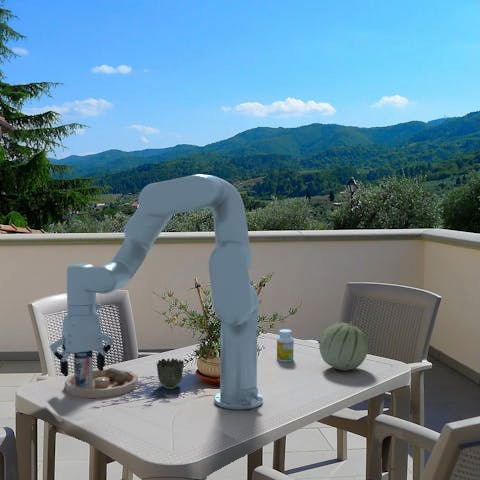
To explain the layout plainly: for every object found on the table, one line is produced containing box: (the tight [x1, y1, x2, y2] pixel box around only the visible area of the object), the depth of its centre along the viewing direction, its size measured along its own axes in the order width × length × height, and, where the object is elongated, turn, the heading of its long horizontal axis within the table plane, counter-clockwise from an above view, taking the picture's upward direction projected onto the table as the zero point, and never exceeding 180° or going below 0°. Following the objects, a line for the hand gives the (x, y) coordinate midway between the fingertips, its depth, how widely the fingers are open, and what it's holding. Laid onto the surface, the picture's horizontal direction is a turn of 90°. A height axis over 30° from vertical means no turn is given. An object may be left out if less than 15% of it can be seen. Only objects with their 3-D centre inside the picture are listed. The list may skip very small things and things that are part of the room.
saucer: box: [64, 368, 139, 399], centre depth 168 cm, size 19×19×3 cm
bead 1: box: [105, 367, 117, 381], centre depth 173 cm, size 4×4×4 cm
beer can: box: [73, 348, 94, 389], centre depth 165 cm, size 5×5×12 cm
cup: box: [155, 357, 185, 390], centre depth 168 cm, size 8×7×8 cm
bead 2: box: [114, 371, 127, 384], centre depth 170 cm, size 4×4×4 cm
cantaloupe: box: [318, 320, 369, 372], centre depth 187 cm, size 15×15×15 cm
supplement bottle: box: [276, 328, 294, 363], centre depth 198 cm, size 5×5×10 cm
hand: (82, 372), depth 165 cm, fingers open, 9 cm apart
